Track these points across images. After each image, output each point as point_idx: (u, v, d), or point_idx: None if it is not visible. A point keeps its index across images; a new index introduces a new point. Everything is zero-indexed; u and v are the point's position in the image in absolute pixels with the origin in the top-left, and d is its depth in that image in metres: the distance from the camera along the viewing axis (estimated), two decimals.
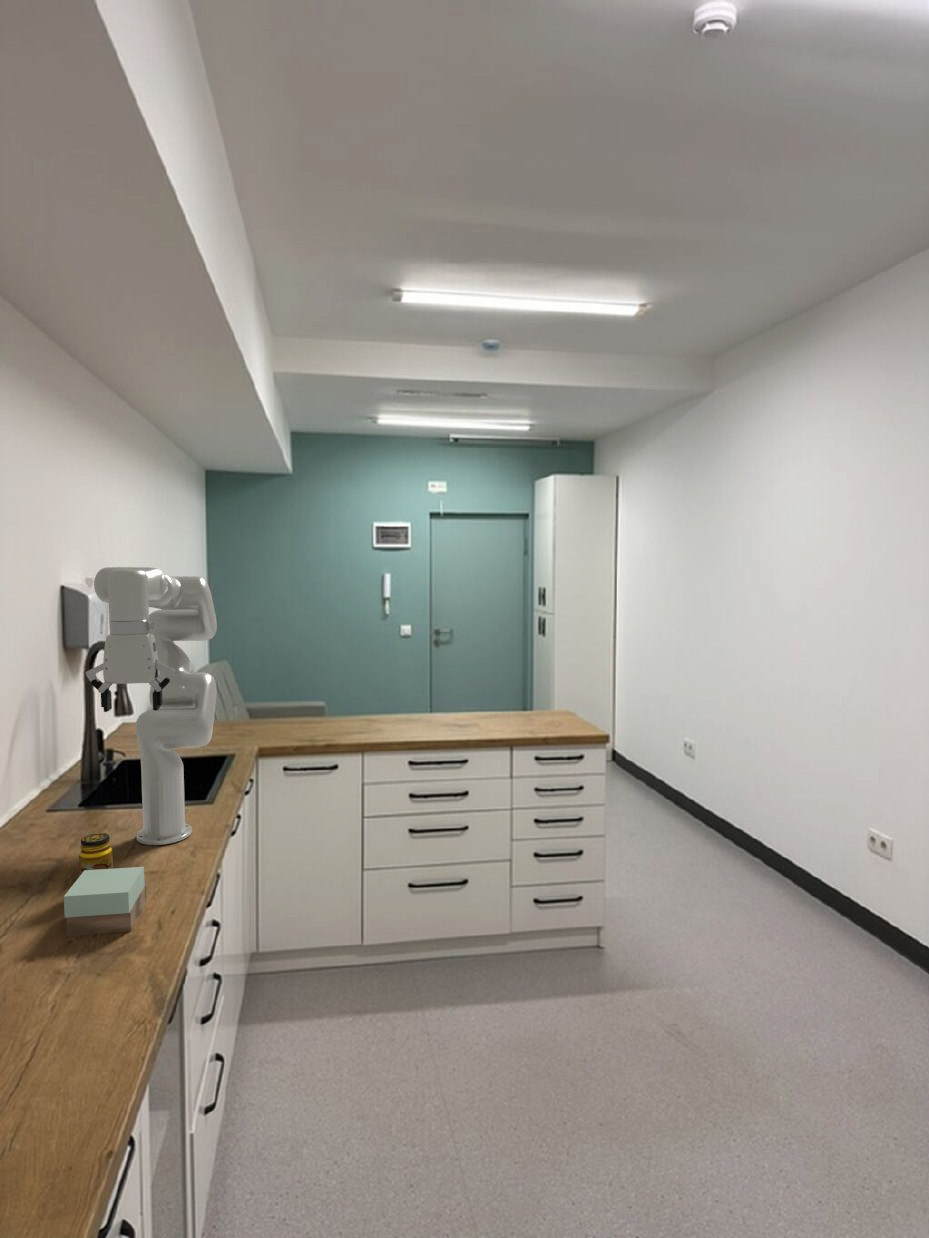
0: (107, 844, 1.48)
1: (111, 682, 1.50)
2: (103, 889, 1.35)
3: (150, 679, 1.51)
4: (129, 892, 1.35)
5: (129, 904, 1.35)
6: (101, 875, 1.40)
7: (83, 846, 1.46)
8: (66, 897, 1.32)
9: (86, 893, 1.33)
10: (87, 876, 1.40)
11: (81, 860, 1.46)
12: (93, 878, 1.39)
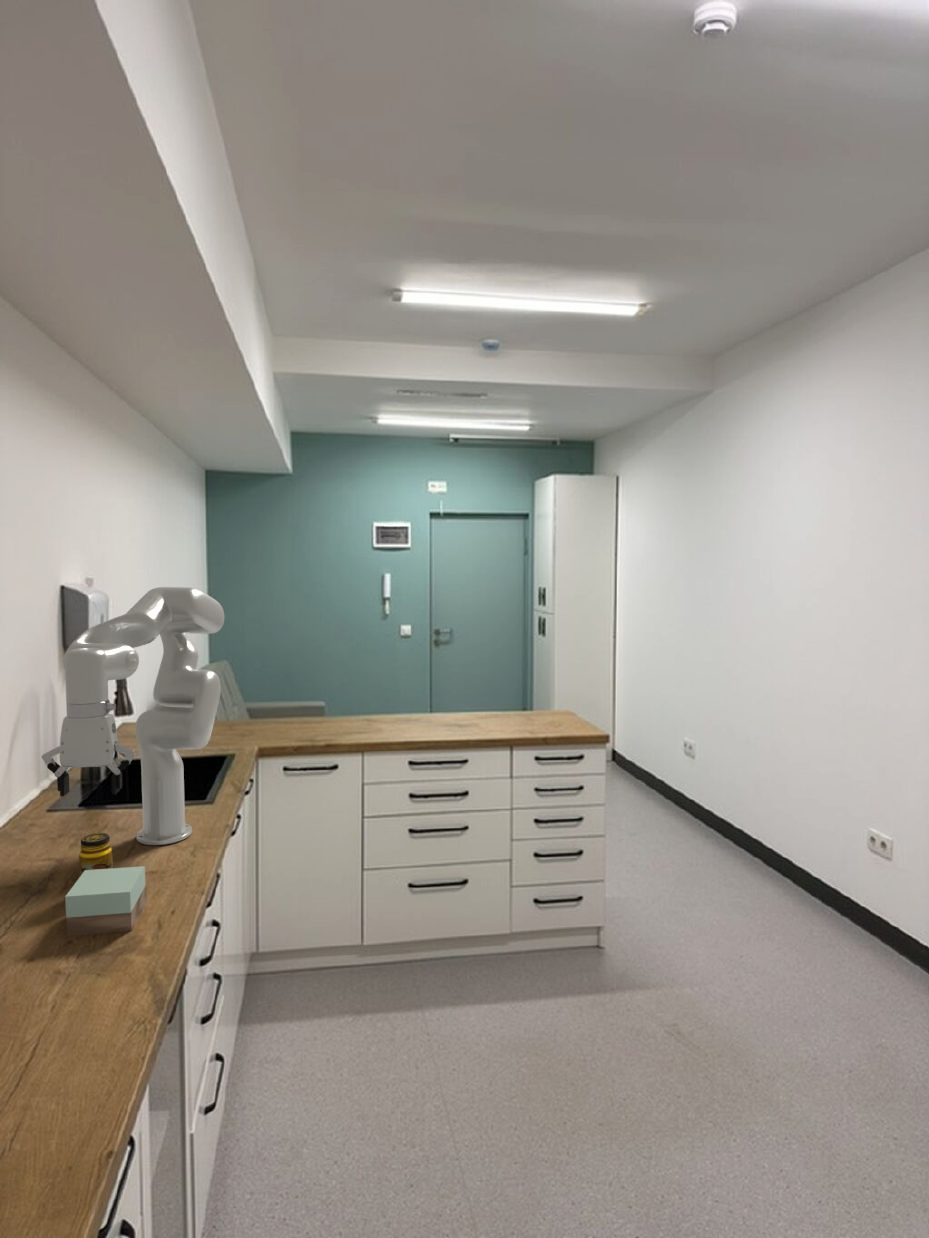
0: (107, 844, 1.48)
1: (68, 766, 1.45)
2: (104, 889, 1.35)
3: (108, 762, 1.46)
4: (131, 892, 1.35)
5: (131, 904, 1.35)
6: (102, 875, 1.40)
7: (83, 846, 1.46)
8: (68, 897, 1.32)
9: (87, 892, 1.33)
10: (88, 876, 1.40)
11: (81, 860, 1.46)
12: (94, 878, 1.39)
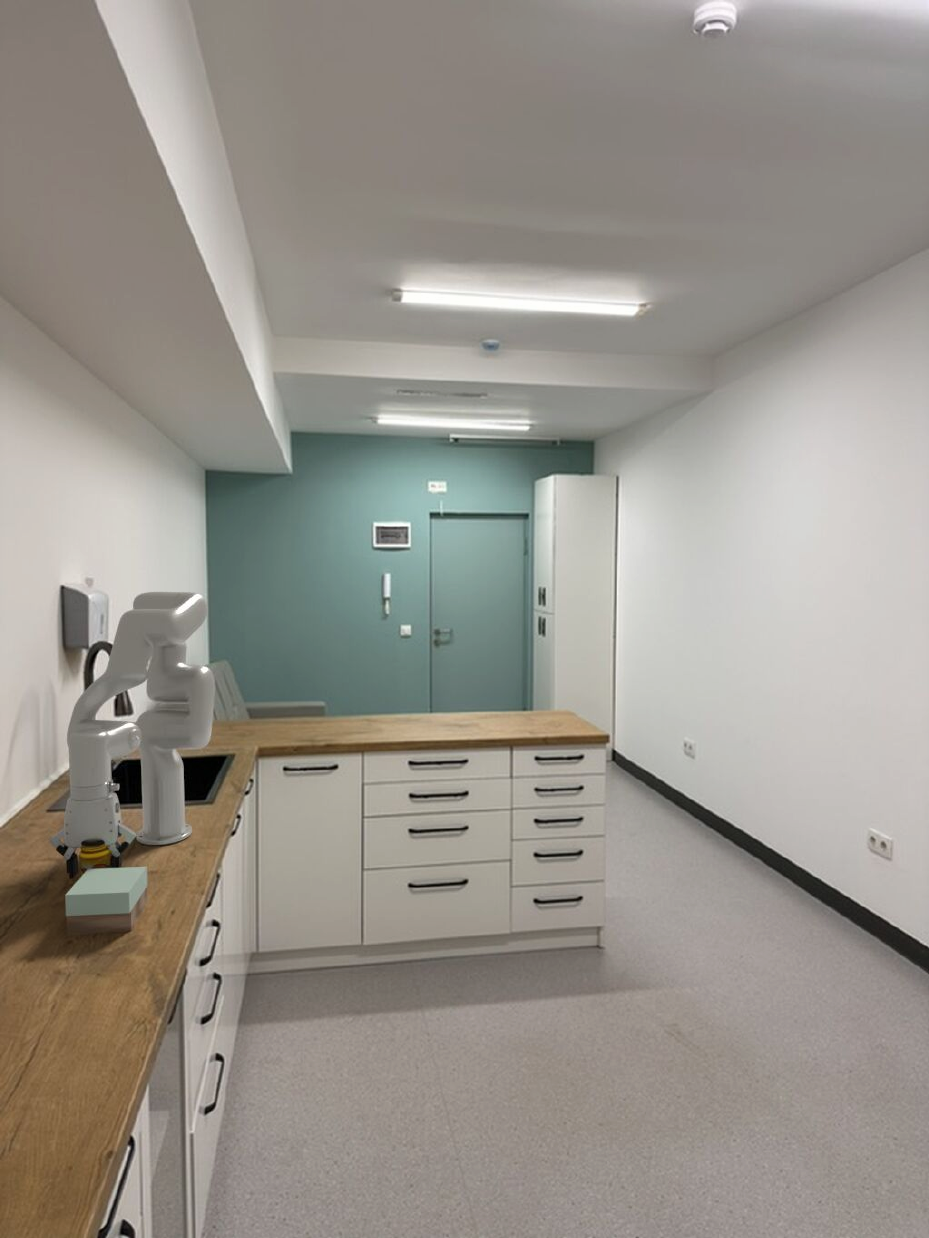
0: None
1: (72, 846, 1.46)
2: (104, 888, 1.35)
3: (112, 842, 1.48)
4: (130, 892, 1.34)
5: (130, 904, 1.34)
6: (104, 874, 1.41)
7: (83, 846, 1.46)
8: (67, 896, 1.32)
9: (87, 892, 1.33)
10: (90, 875, 1.40)
11: (81, 860, 1.46)
12: (96, 877, 1.39)
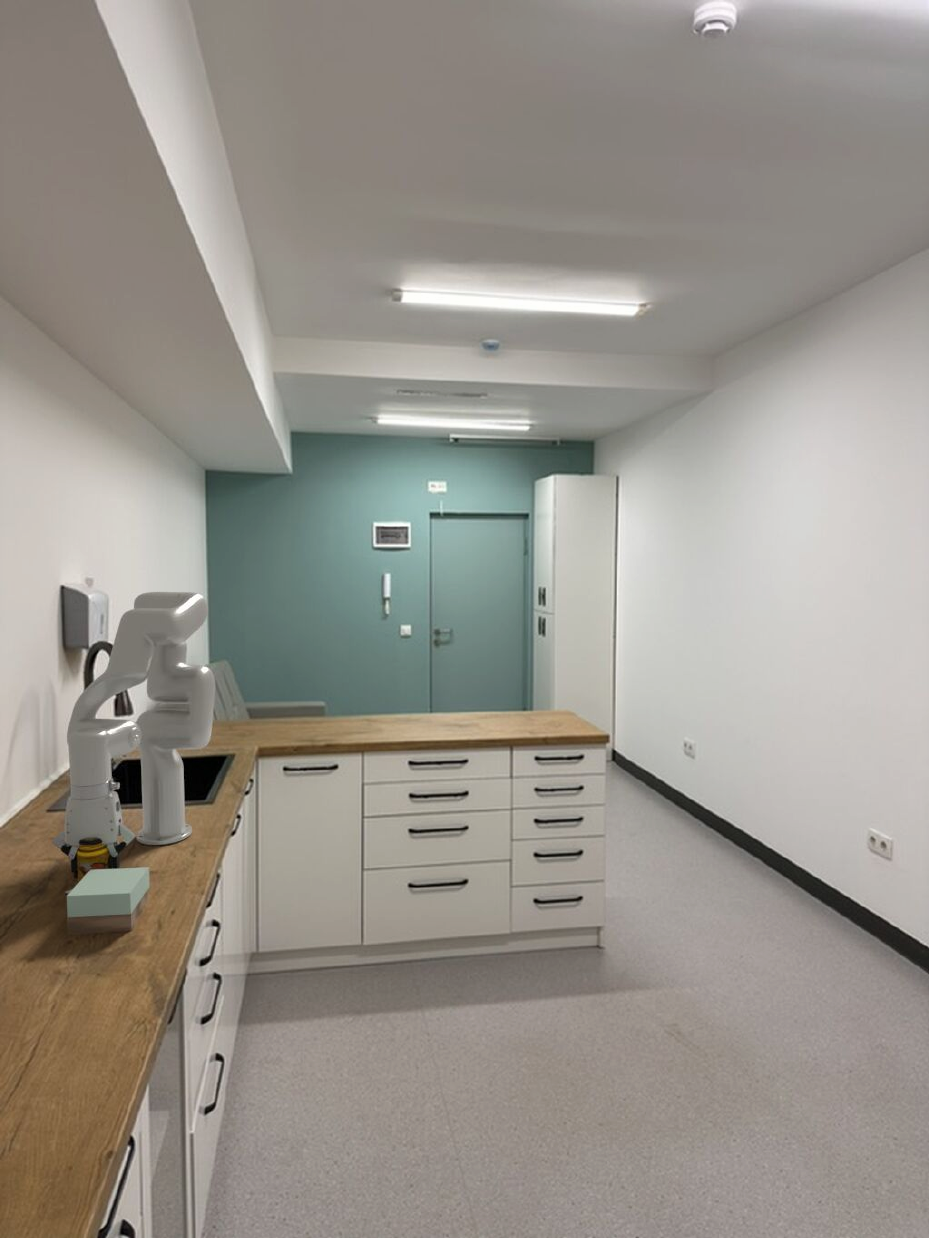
0: None
1: (73, 845, 1.47)
2: (106, 889, 1.35)
3: (113, 841, 1.48)
4: (131, 893, 1.34)
5: (131, 905, 1.34)
6: (106, 875, 1.40)
7: (81, 845, 1.46)
8: (69, 897, 1.32)
9: (88, 893, 1.33)
10: (92, 876, 1.40)
11: (79, 859, 1.46)
12: (98, 878, 1.39)
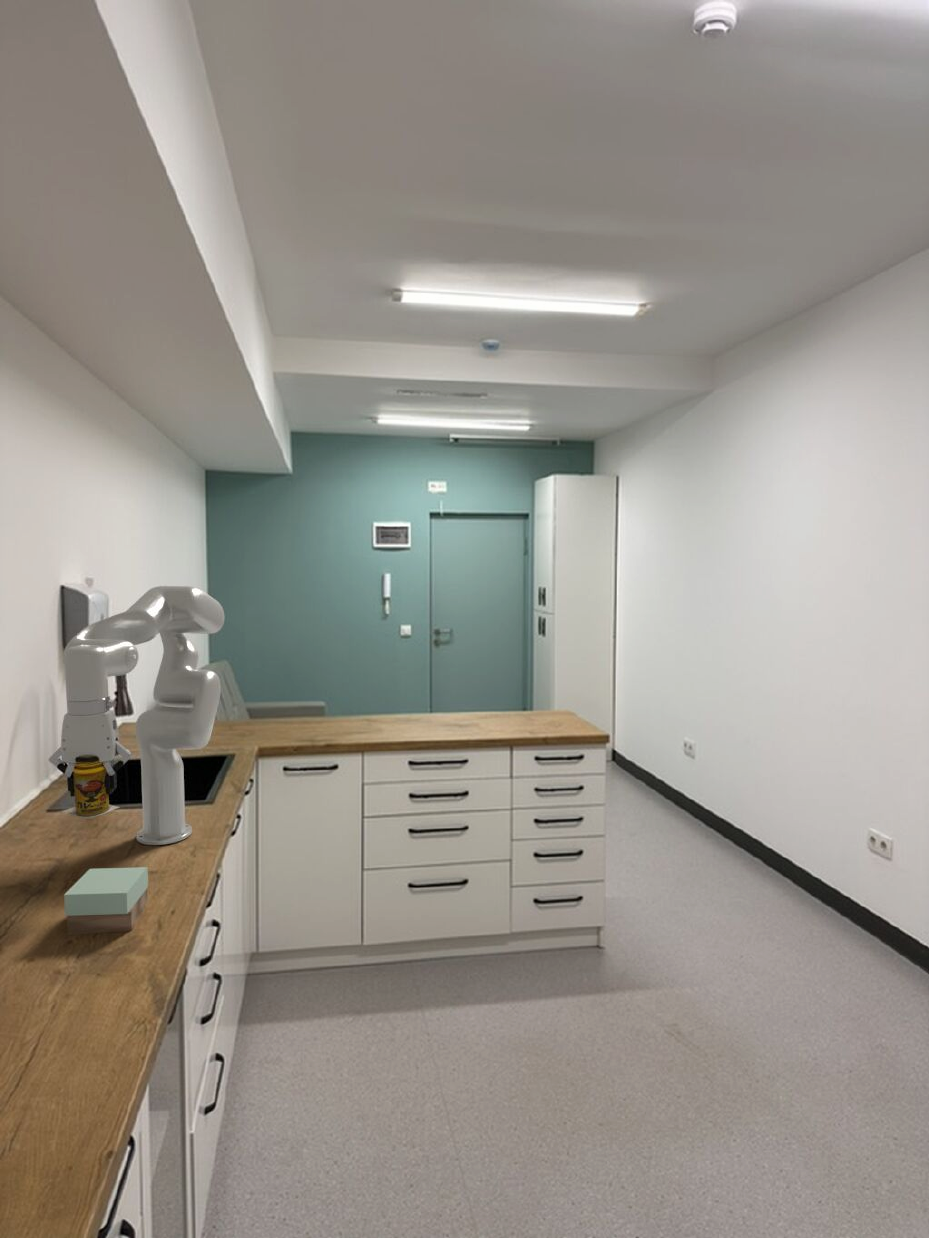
0: None
1: (69, 762, 1.45)
2: (103, 888, 1.35)
3: (110, 759, 1.46)
4: (128, 893, 1.34)
5: (128, 905, 1.34)
6: (104, 874, 1.41)
7: (77, 762, 1.45)
8: (66, 895, 1.32)
9: (86, 892, 1.34)
10: (91, 875, 1.40)
11: (75, 776, 1.45)
12: (96, 877, 1.39)
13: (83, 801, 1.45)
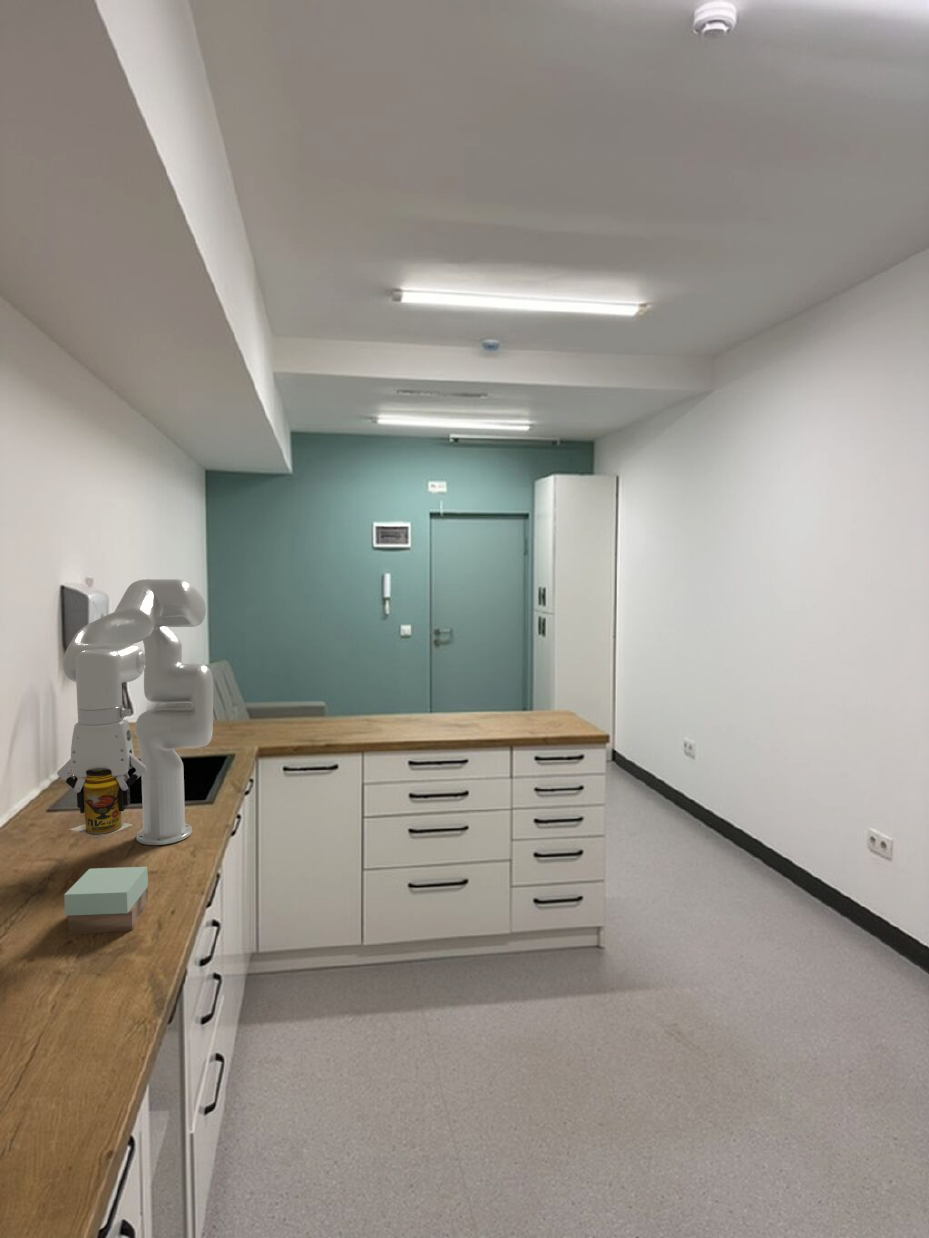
0: None
1: (80, 776, 1.34)
2: (103, 888, 1.35)
3: (123, 772, 1.35)
4: (128, 892, 1.34)
5: (128, 904, 1.34)
6: (104, 874, 1.41)
7: (88, 776, 1.33)
8: (66, 895, 1.33)
9: (86, 891, 1.34)
10: (91, 875, 1.40)
11: (86, 791, 1.33)
12: (96, 877, 1.40)
13: (94, 818, 1.33)
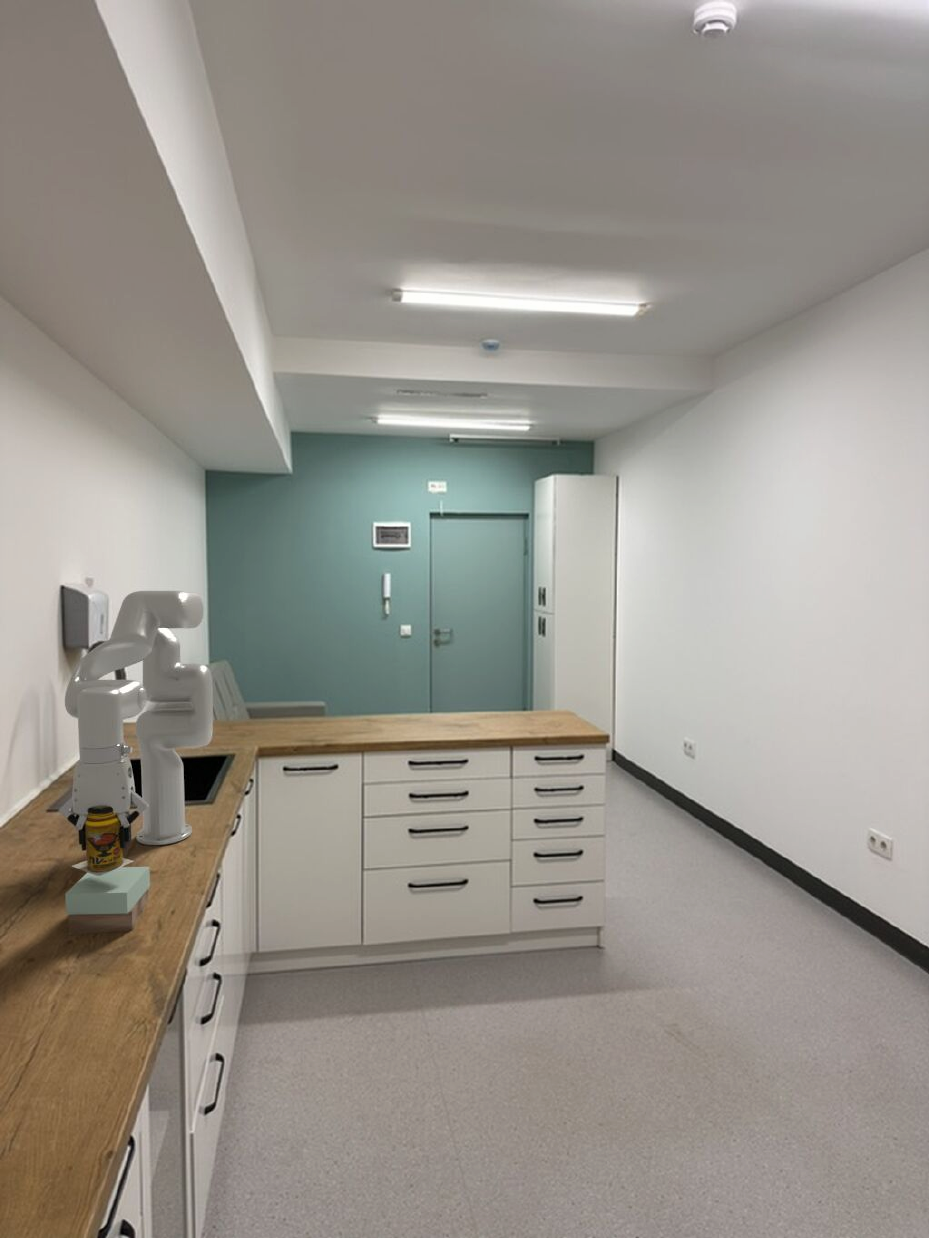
0: None
1: (81, 814, 1.35)
2: (104, 888, 1.35)
3: (125, 810, 1.36)
4: (128, 892, 1.34)
5: (128, 904, 1.34)
6: (106, 874, 1.41)
7: (89, 814, 1.34)
8: (67, 894, 1.33)
9: (86, 891, 1.34)
10: None
11: (87, 829, 1.34)
12: (98, 876, 1.40)
13: (95, 855, 1.34)
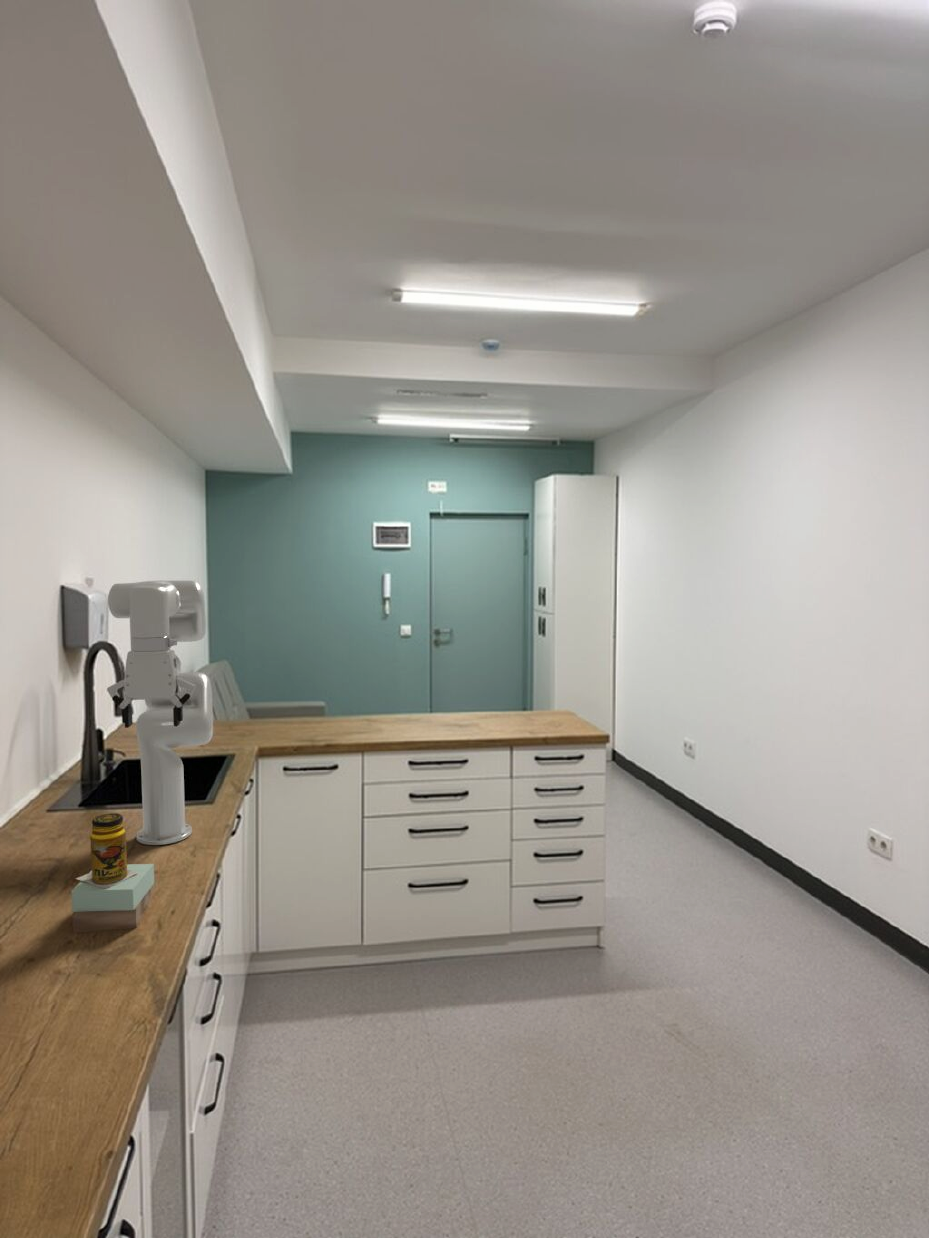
0: (121, 825, 1.38)
1: (132, 698, 1.50)
2: None
3: (171, 695, 1.52)
4: (134, 889, 1.36)
5: (134, 901, 1.36)
6: None
7: (95, 827, 1.36)
8: (73, 892, 1.34)
9: (92, 888, 1.35)
10: None
11: (93, 842, 1.36)
12: None
13: (101, 868, 1.36)
